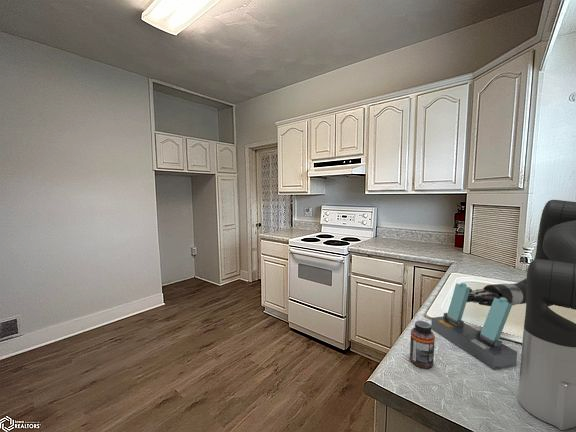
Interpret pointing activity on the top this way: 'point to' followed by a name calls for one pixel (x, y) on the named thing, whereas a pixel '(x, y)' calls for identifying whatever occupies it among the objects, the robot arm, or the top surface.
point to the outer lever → (458, 303)
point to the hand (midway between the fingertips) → (461, 298)
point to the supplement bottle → (422, 345)
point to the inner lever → (495, 320)
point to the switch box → (475, 343)
